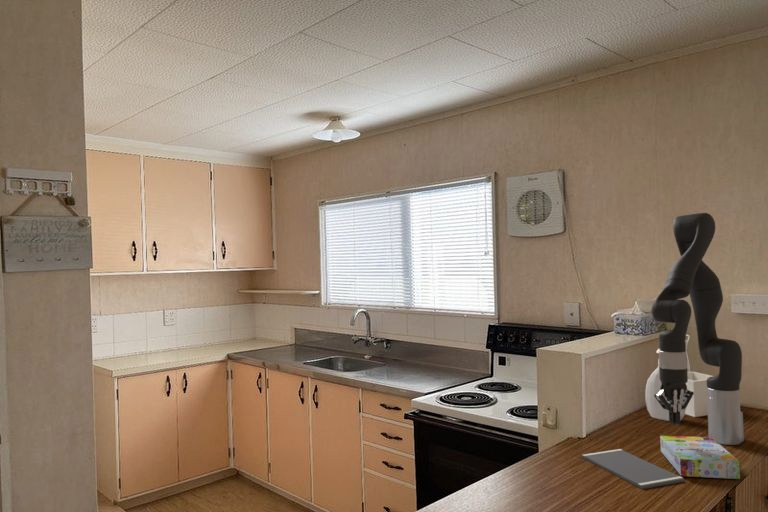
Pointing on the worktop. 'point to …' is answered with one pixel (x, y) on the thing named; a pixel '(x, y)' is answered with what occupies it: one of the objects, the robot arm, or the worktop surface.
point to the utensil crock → (697, 394)
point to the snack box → (699, 457)
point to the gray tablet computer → (632, 468)
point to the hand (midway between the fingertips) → (674, 423)
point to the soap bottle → (651, 402)
